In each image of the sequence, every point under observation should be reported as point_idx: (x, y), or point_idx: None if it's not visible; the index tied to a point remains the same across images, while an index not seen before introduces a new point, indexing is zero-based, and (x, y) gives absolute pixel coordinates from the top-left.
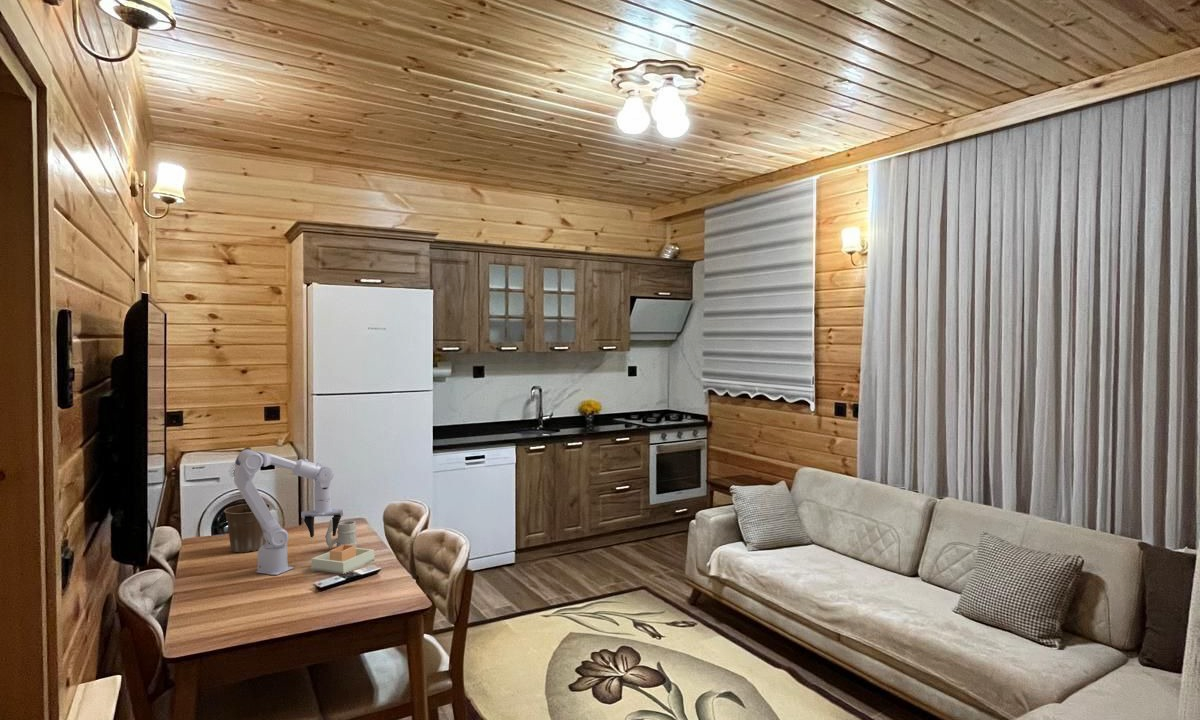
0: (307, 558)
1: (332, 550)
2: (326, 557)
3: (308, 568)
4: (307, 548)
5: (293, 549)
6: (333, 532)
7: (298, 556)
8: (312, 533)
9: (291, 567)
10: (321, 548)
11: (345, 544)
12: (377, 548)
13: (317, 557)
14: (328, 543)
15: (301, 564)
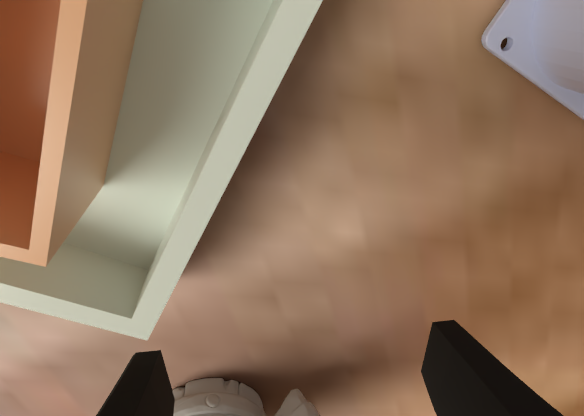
0: (399, 267)
1: (60, 18)
2: (219, 124)
3: (355, 30)
4: (420, 404)
5: None
6: (127, 396)
7: (455, 303)
8: (456, 369)
9: (500, 31)
10: (350, 404)
11: (200, 413)
12: (13, 404)
13: (280, 8)
14: (305, 411)
15: (424, 149)
